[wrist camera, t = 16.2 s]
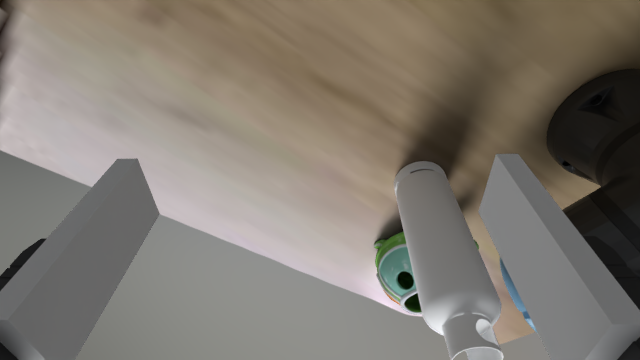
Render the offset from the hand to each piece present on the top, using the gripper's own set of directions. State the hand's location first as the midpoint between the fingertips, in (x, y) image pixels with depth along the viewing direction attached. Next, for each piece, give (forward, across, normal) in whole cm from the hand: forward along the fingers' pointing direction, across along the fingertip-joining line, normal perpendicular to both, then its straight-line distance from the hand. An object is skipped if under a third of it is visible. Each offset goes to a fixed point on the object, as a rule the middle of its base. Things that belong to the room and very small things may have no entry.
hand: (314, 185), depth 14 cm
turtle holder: (+35, +15, -39) cm, 55 cm away
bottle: (+35, +14, -26) cm, 46 cm away
